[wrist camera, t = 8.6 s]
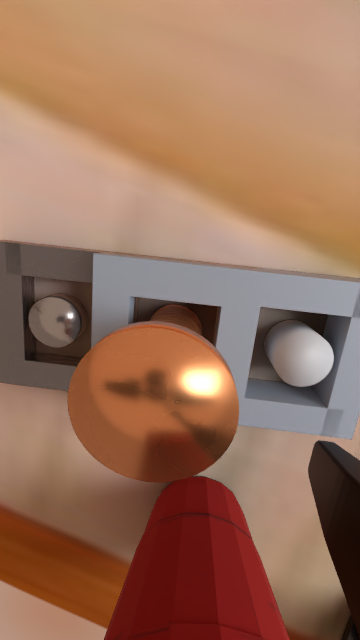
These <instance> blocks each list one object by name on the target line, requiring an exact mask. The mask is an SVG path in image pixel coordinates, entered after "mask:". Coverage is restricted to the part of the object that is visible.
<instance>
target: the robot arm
mask: <svg viewBox="0 0 360 640" xmlns="http://www.w3.org/2000/svg"><path fill="white" fill-rule="evenodd" d="M308 474H309V479H310V483H311V487H312V491H313V495H314V499H315V503H316V507H317V511H318V515H319V519H320V523H321V527H322V530H323V534H324V537H325V541H326V544H327V547H328V550H329V553H330V555H331V558H332V561H333V564H334V566H335V569H336V572H337V575H338V578H339V580H340V583H341V586H342V589H343V592H344V594H345V597H346V600H347V603H348V605H349V608H350V611H351V617H350V620H349V623H348V626H347V628H346V631H345V634H344V637H343V639H342V640H360V460H358V459H357V458H355V457H354V456H352V455H351V454H350V453H348V452H347V451H345V450H344V449H342V448H341V447H340V446H338V445H337V444H335V443H333V442H328V441H320V440H319V441H317V442H316V443H315V444H314V447H313V451H312V455H311V459H310V463H309V467H308Z"/></svg>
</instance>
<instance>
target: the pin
mask: <svg viewBox="0 0 360 640" xmlns="http://www.w3.org/2000/svg"><path fill="white" fill-rule="evenodd" d="M68 411H69V416H70V420H71V423H72V426H73V429H74V431H75V433H76V435H77V437H78V438H79V440H80V441H81V443H82V444H83V446H84V447H85V448H86V449H87V450H88V452H89V453H90V454H91V455H92V456H93V457H94V458H95V459H97V460H98V461H99V462H100V463H102V464H103V465H104V466H106V467H107V468H109V469H111V470H113V471H115V472H116V473H119V474H121V475H123V476H126V477H129V478H132V479H136V480H141V481H146V482H171V481H177V480H181V479H185V478H188V477H191V476H194V475H196V474H198V473H200V472H202V471H204V470H205V469H207V468H208V467H210V466H211V465H213V464H214V463H215V462H216V461H217V460H218V459H219V458H220V457H221V456H222V455H223V454H224V452H225V451H226V450H227V448H228V447H229V445H230V444H231V442H232V440H233V437H234V435H235V433H236V429H237V425H238V420H239V400H238V395H237V391H236V386H235V382H234V378H233V375H232V373H231V370H230V368H229V366H228V364H227V362H226V360H225V359H224V358H223V356H222V355H221V353H220V352H219V351H218V350H217V349H216V348H215V347H214V346H213V344H211V343H210V342H209V341H208V340H206V339H205V338H204V337H202V336H201V323H200V320H199V318H198V317H197V315H196V314H195V313H194V312H193V311H192V310H191V309H189V308H188V307H186V306H183V305H179V304H170V305H166V306H163V307H161V308H160V309H158V310H157V311H156V312H155V313H154V315H153V316H152V318H151V319H150V321H144V322H137V323H132V324H129V325H126V326H123V327H120V328H118V329H116V330H114V331H112V332H110V333H109V334H108V335H106V336H105V337H103V338H102V339H101V340H100V341H99V342H98V343H97V344H96V345H95V346H94V347H93V348H92V349H91V350H90V351H89V352H88V353H87V354H86V355H85V356H84V357H83V358H82V360H81V361H80V362H79V364H78V366H77V367H76V369H75V371H74V373H73V376H72V378H71V381H70V386H69V390H68Z"/></svg>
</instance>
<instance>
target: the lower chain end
mask: <svg viewBox="0 0 360 640" xmlns="http://www.w3.org/2000/svg"><path fill="white" fill-rule="evenodd" d="M95 253H111V254H120V255H129V256H138V257H148V258H157V259H166V260H175V261H185V262H194V263H203V264H212V265H222V266H231V267H240V268H249V269H259V268H257V267H248V266H238V265H229V264H220V263H210V262H201V261H192V260H183V259H173V258H164V257H155V256H146V255H136V254H127V253H118V252H109V251H99V250H90V249H81V248H71V247H62V246H53V245H44V244H34V243H25V242H16V241H7V240H0V383H7V384H15V385H23V386H31V387H39V388H47V389H55V390H63V391H68V390H69V386H70V381H71V378H72V376H73V373H74V371H75V369H76V367H77V366H78V364H79V362H80V361H81V360H82V358H77V357H69V356H61V355H53V354H44V353H36V338H37V339H38V340H39V341H40V342H42V343H43V344H45V345H47V346H50V347H64V346H67V345H69V344H70V343H71V342H73V341H74V340H75V339H76V338H78V337H79V336H80V335H81V334H82V333H83V332H84V330H85V328H86V325H87V314H86V311H85V309H84V307H83V305H82V304H81V303H80V302H79V301H78V300H77V299H76V298H74V297H73V296H70V295H68V294H54V295H51V296H49V297H46V298H44V299H41V300H39V301H37V302H36V303H35V301H34V277H42V278H51V279H59V280H68V281H77V282H86V283H93V254H95ZM259 270H261V269H259ZM138 302H139V297H134V314H133V323H137V317H138ZM218 313H219V306H217V313H216V320H215V327H214V335H213V342H212V344H213V346H214V341H215V334H216V327H217V320H218Z"/></svg>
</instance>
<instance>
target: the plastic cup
mask: <svg viewBox="0 0 360 640" xmlns="http://www.w3.org/2000/svg"><path fill="white" fill-rule="evenodd" d="M104 640H290V639H289V636H288V633H287V631H286V628H285V625H284V622H283V620H282V617H281V614H280V611H279V608H278V606H277V603H276V600H275V597H274V595H273V592H272V589H271V586H270V583H269V581H268V578H267V575H266V572H265V570H264V567H263V564H262V561H261V559H260V556H259V554H258V552H257V549H256V547H255V545H254V543H253V540H252V537H251V534H250V531H249V528H248V525H247V522H246V519H245V516H244V514H243V512H242V509H241V507H240V505H239V503H238V501H237V500H236V498H235V496H234V494H233V492H231V491H230V490H229V489H228V488H227V487H226V486H224V485H223V484H222V483H220V482H218V481H215V480H212V479H209V478H207V477H188V478H185V479H181V480H177V481H173V482H172V483H171V484H170V485H169V486H167V487H166V488H165V489H164V490H162V492H161V494H160V496H159V497H158V499H157V501H156V503H155V505H154V508H153V510H152V512H151V515H150V518H149V521H148V523H147V526H146V529H145V532H144V534H143V536H142V538H141V540H140V543H139V545H138V547H137V549H136V552H135V555H134V557H133V560H132V563H131V566H130V568H129V571H128V574H127V577H126V580H125V582H124V585H123V588H122V591H121V593H120V596H119V599H118V602H117V605H116V607H115V610H114V613H113V616H112V618H111V621H110V624H109V627H108V630H107V632H106V635H105V638H104Z"/></svg>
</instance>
